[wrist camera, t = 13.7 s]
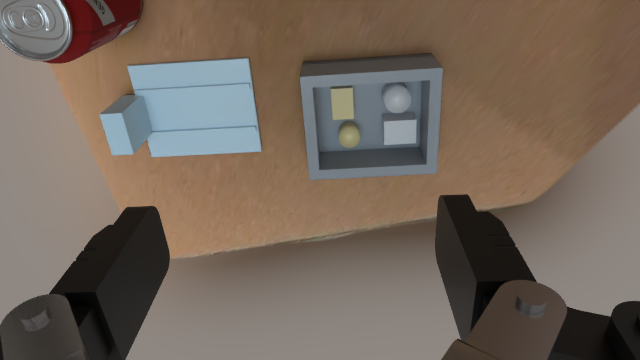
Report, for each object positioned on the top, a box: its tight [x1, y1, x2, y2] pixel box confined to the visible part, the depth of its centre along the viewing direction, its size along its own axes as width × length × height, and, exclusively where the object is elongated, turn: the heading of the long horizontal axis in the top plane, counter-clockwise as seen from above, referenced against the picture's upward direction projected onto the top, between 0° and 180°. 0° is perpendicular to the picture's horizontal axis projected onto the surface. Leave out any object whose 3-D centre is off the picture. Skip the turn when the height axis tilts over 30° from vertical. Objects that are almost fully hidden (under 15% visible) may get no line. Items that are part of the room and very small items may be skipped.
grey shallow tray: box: [300, 53, 443, 180], centre depth 43 cm, size 10×12×5 cm
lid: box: [99, 57, 262, 157], centre depth 44 cm, size 10×13×6 cm
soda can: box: [0, 0, 142, 63], centre depth 36 cm, size 7×7×12 cm
